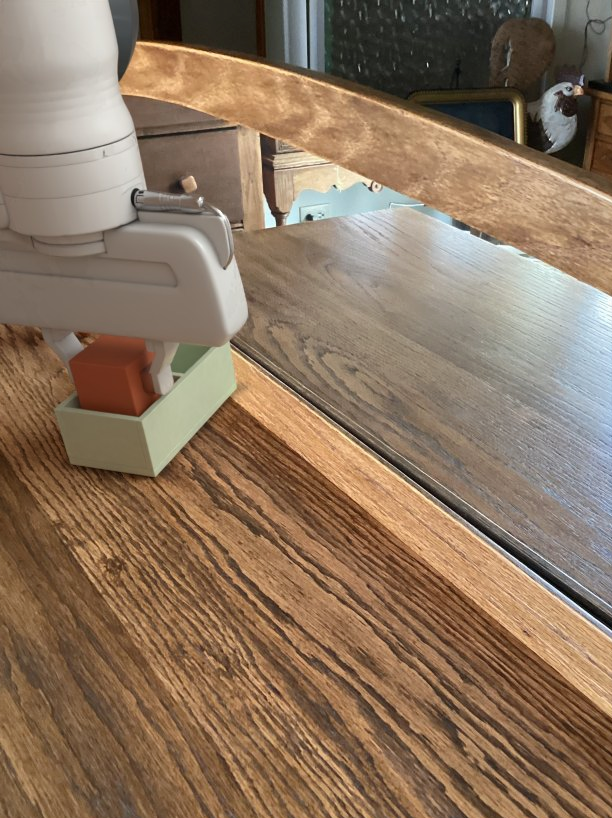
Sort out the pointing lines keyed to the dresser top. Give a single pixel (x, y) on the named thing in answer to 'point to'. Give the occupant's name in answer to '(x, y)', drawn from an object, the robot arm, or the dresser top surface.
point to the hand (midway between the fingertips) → (122, 385)
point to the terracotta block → (113, 376)
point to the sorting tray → (151, 416)
